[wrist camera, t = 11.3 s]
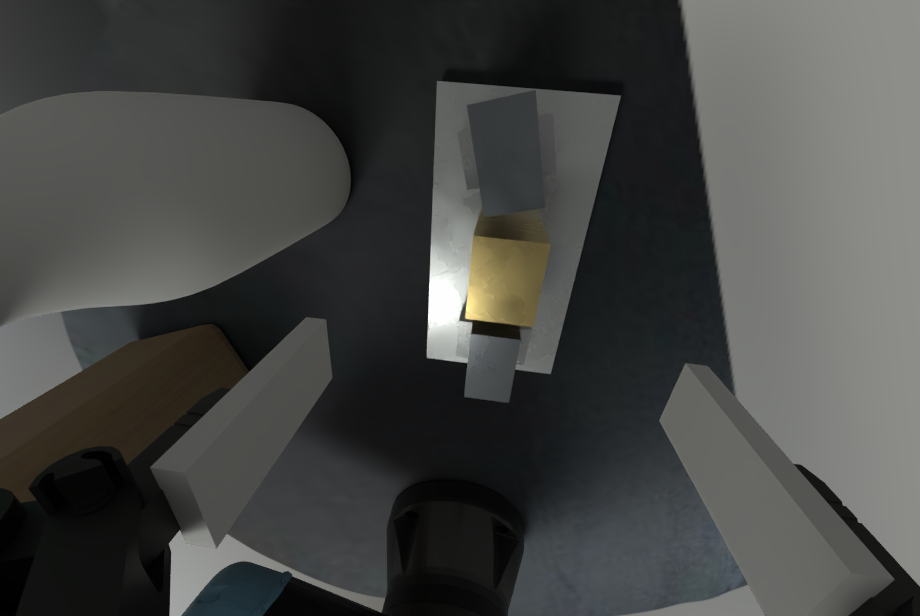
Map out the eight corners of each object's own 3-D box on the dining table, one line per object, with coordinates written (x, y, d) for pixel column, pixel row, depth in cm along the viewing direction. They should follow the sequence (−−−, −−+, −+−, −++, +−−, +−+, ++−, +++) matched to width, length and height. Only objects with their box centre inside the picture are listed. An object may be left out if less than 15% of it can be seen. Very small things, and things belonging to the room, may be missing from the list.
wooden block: (197, 416, 37) (-82, 684, 19) (133, 338, 33) (-298, 589, 15) (277, 403, 35) (41, 694, 17) (218, 317, 30) (-175, 585, 13)
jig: (549, 366, 29) (559, 421, 23) (429, 350, 29) (412, 400, 24) (615, 96, 20) (655, 88, 14) (439, 82, 20) (416, 69, 15)
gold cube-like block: (528, 290, 25) (533, 327, 20) (472, 283, 25) (465, 318, 21) (542, 219, 22) (550, 244, 18) (479, 213, 23) (473, 235, 18)
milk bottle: (327, 87, 21) (-532, -73, 4) (370, 214, 25) (31, 448, 7) (221, 120, 23) (-739, 117, 5) (275, 235, 26) (-197, 469, 9)
